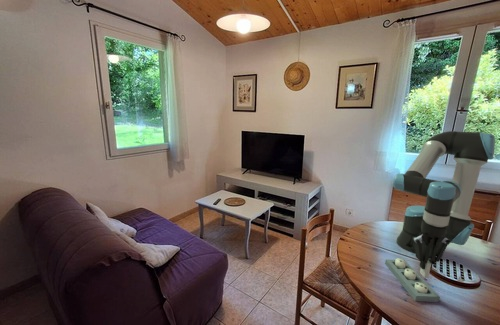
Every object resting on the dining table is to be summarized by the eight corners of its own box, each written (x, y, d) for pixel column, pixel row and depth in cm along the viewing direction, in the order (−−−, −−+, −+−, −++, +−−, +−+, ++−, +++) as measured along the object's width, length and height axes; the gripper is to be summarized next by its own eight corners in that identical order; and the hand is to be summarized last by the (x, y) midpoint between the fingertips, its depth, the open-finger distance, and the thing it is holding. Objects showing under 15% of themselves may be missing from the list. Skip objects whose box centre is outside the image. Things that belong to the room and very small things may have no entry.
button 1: (401, 264, 107) (402, 258, 106) (407, 270, 103) (408, 264, 102) (392, 264, 107) (393, 257, 106) (397, 270, 103) (398, 263, 102)
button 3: (421, 288, 93) (423, 281, 93) (429, 296, 89) (430, 289, 89) (411, 288, 94) (412, 281, 93) (418, 296, 90) (419, 289, 89)
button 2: (411, 274, 100) (412, 268, 99) (417, 281, 96) (418, 275, 95) (401, 274, 100) (402, 268, 99) (407, 281, 96) (408, 274, 95)
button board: (403, 264, 109) (404, 260, 108) (438, 301, 88) (439, 296, 87) (384, 263, 109) (385, 259, 109) (415, 300, 88) (416, 295, 87)
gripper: (444, 217, 88) (433, 268, 93) (410, 217, 88) (401, 268, 94) (461, 227, 80) (448, 282, 86) (424, 227, 81) (413, 281, 87)
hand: (424, 275), depth 90 cm, fingers closed
